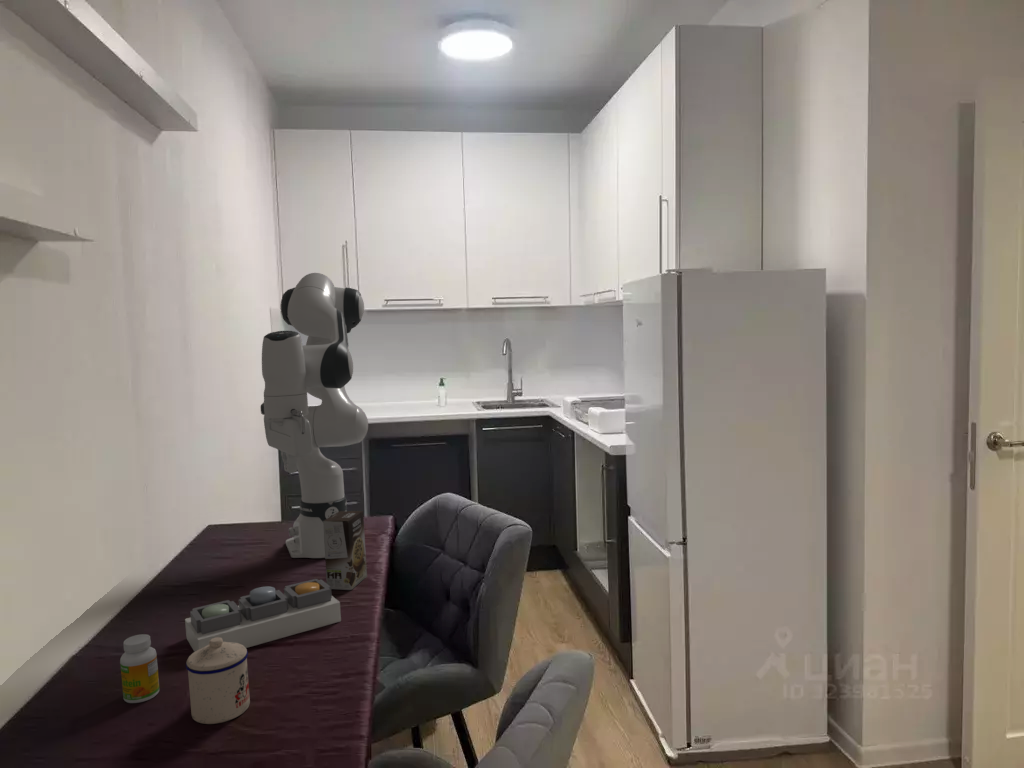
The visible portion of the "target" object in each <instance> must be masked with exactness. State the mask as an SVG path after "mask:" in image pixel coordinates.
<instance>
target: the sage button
mask: <svg viewBox="0 0 1024 768" xmlns="http://www.w3.org/2000/svg"><path fill="white" fill-rule="evenodd" d="M225 613H229V606H228V605H225V604H217V605H212V606H209V607H206V608H204V609H203V610H202V618H203V619H205V618H209V617H213V616H217V615H221V614H225Z"/></svg>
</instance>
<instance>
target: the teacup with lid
mask: <svg viewBox="0 0 1024 768" xmlns="http://www.w3.org/2000/svg"><path fill="white" fill-rule="evenodd" d="M248 656H249V652H248V649H247V648H245V647H244V646H243V645H241V644H239V643H233V642H223V639H222V638H220V637H216V638H213V639H211V640H210V641H209V645H207V646H205V647H203V648H201V649H199V650H197V651H195V652H194V651H193V652H192V653H191V654H190V655H189V656H188V658H187V660H186V663H185V669H186V671H187V675H188V687H189V688H188V689H189V698H190V710H191V711H190V712H191V713H190V714H191V717H192V720H194V721H195V722H196V723H198V724H199V723H200V724H204V725H215V724H222V723H225V722H229V721H231V720H234V719H235V718H237V717H239V716H241V715H242V714H244V713H245V712H246V711H247V710H248V708H249V706H250V703H251V700H250V699H251V698H250V684H249V682H250V681H249V671H248V670H249V669H248Z"/></svg>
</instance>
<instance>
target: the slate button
mask: <svg viewBox="0 0 1024 768" xmlns="http://www.w3.org/2000/svg"><path fill="white" fill-rule="evenodd" d="M275 590H276V588H275V587H274V586H261V587H256V588H253V589H251V590H250V591H249V595H250V603H251V604H252V605H261V604H265V603H269V602H273V601H275V600H276V594H275Z"/></svg>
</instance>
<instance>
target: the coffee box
mask: <svg viewBox="0 0 1024 768" xmlns="http://www.w3.org/2000/svg"><path fill="white" fill-rule="evenodd" d="M364 517H365V516H364V511H363V510H346V511H339V512H337V513H336V514H334V515H332V516H331V517H329V518H327V519H326V520H324V521H323V525H324V544H325V558H324V559H325V579H326V583H327V584H328V585H329V586H331V590H341V591H342V590H343V591H352V590H354V588H356V587H357V586H358V585H359V584H360V583H362V581H363V580H365V579H366V578H367V577H368V573H367V572H368V571H367V570H368V569H367V554H366V553H367V552H366V537H365V521H364V519H365V518H364Z"/></svg>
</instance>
